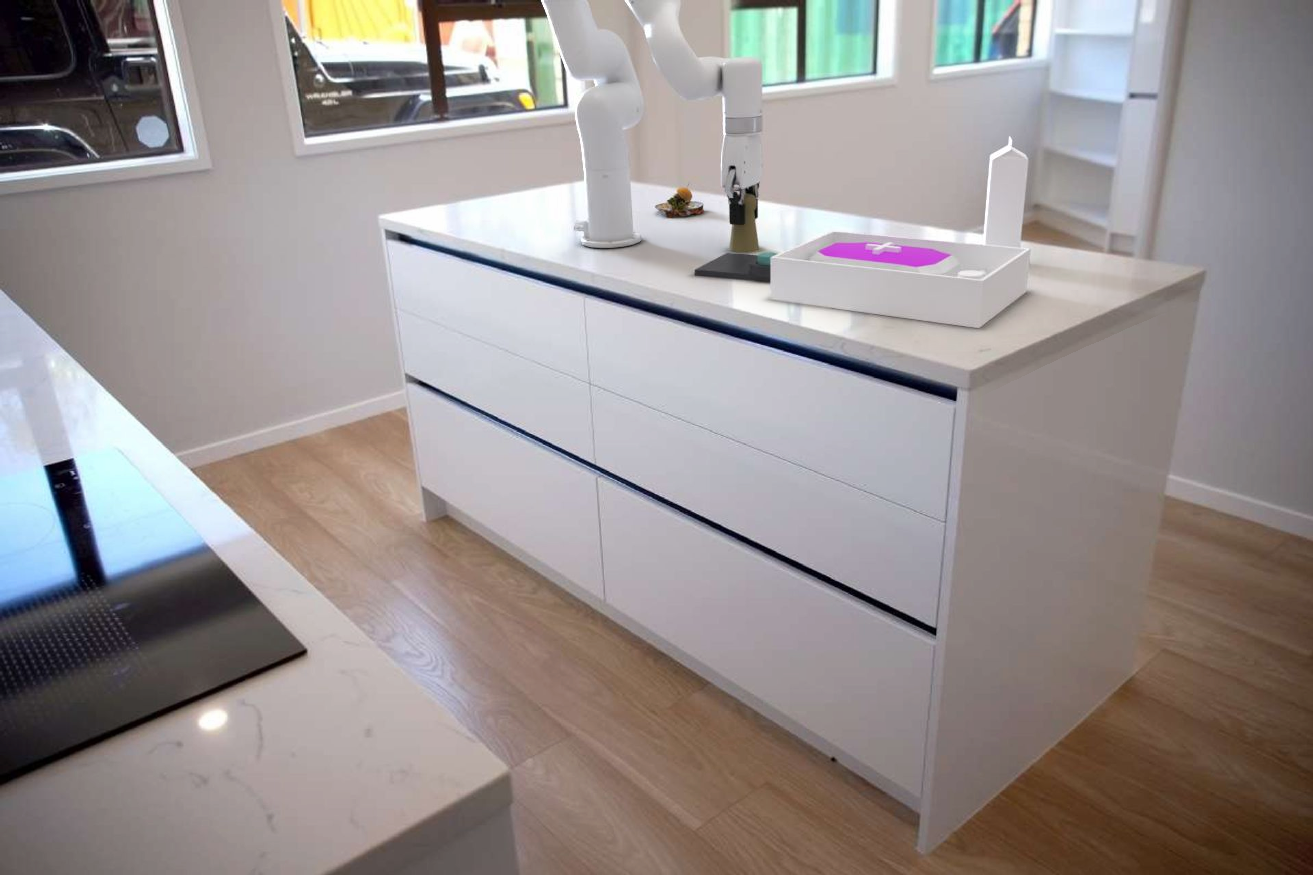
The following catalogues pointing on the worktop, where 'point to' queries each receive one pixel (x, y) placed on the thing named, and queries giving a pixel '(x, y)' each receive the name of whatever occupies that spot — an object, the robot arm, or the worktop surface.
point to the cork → (745, 229)
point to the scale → (736, 268)
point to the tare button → (765, 258)
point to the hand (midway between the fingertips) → (743, 220)
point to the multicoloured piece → (680, 204)
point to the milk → (1005, 197)
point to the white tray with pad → (902, 277)
